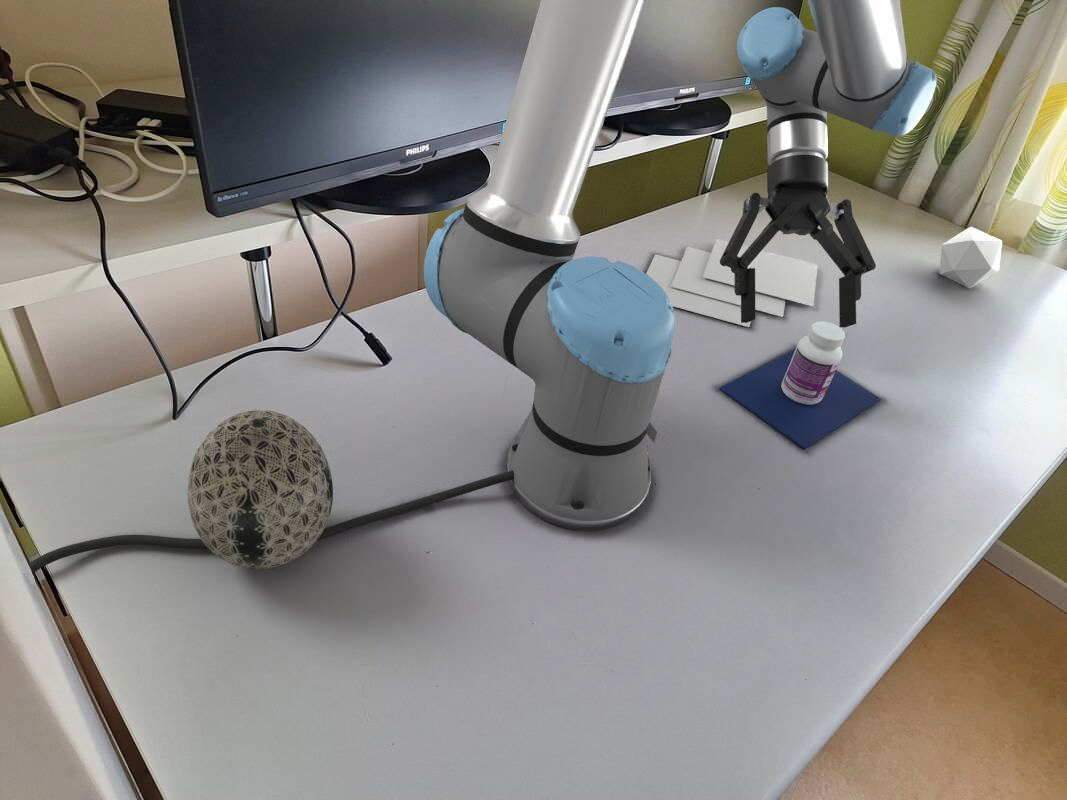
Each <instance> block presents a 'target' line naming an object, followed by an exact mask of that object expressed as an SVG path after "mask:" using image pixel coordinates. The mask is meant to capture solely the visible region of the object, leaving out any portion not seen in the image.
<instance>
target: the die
mask: <svg viewBox="0 0 1067 800" xmlns="http://www.w3.org/2000/svg"><path fill="white" fill-rule="evenodd" d="M1002 247H1003V240H1002V239H999V238H997V237H995V236H994V235H993V236H992V235H990V234H988V233H986V232H984V231H981V230H979V229H977V228H974V227H972V226H970V227H968V228H966V229H965V230H962V232H959V233H958V234H956V235H955V236H953V237H951V238H950V239H948V240H947V241H945V242H943V243H941V246H940V262H939V275H941V276H943V277H946V278H947V279H949V280H951V281H953V282H955V283H957V284H959V285H961V286H963V287H965V288H967V289H972V288H973V287H975V286H976V285H978V284H980V283H981V282H983V281H985V280H986V279H988V278H990V277H992V276H994V275H995V274H996V273H998V272H1000V266H1001V265H1000V264H1001V256H1002Z"/></svg>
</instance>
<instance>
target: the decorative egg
mask: <svg viewBox="0 0 1067 800" xmlns="http://www.w3.org/2000/svg"><path fill="white" fill-rule="evenodd" d="M187 484H188V485H187V504H188V511H189V515H190V519H191V521H192V524H193V527H194V529H195V532H196V534H197V535H198V536H199V539H201V540H202V541H203V543H204V544H205V545H206V546H207V547H208V548H209V549H208V550H210V551H211V552H212V553H213V554H214V555H215V556H216V557H217V558H220V559H221V560H223V561H225V562H226V563H228V564H231V565H234V566H236V567H239V568H244V569H249V570H267V569H268V570H269V569H274V568H277V567H278V568H279V567H281V566H284V565H287V564H289V563H291V562H293V561H295V560H297V559H299V558H300V557H301V556H302V555H304V554H306V552H308V551H309V550H310V549H311V548H312V547H313V546H314V545H315V543H316V542H318V541H317V539H318V538H319V537H320V535H321V534H322V532H323V530H324V529H325V528H327V527H326V526H327V525H328V522H329V519H330V517H331V513H332V506H333V501H334V485H333V478H332V471H331V468H330V465H329V462H328V459H327V457H326V455H325V453H324V450H323V448H322V446H321V445H320V443H319V442H318V440H317V439H316V438H315V437H314V435H313V434H312V433H311V432H310V431H309V430H308V429H307V428H306V427H305V426H304V425H302V424H301V423H300V422H298V421H297V420H295V419H293V418H292V417H289V416H288V415H286V414H283V413H280V412H277V411H273V410H268V409H267V410H266V409H265V410H264V409H261V410H260V409H256V410H247V411H243V412H240V413H237V414H235V415H234V414H233V415H232V416H229V417H228V418H226V419H225V420H223V421H222V422H220V423H218V424H217V425H216V426H215V427H214V428H213V429H212V430H211V431H210V432H208V433H207V435H206V437H204V439H203V440H202V442H201V443H200V445H199V447H198V448H197V451H196V452H195V454H194V457H193V459H192V463H191V466H190V469H189V475H188V483H187Z"/></svg>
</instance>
